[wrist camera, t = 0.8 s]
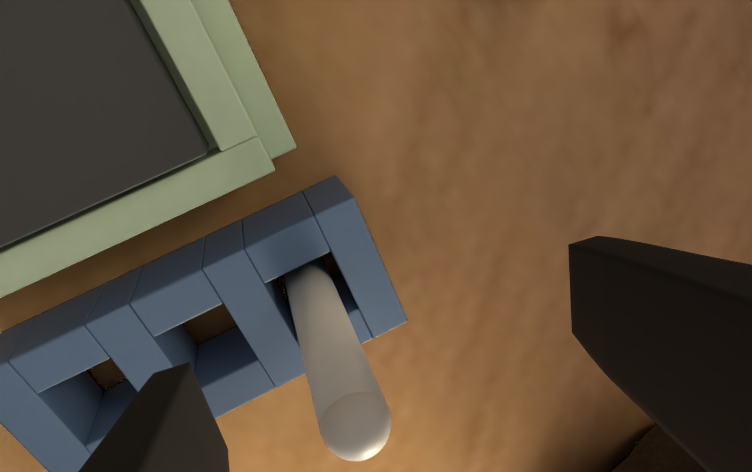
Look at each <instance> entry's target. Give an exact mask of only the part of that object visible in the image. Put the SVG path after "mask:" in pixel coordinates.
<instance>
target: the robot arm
mask: <svg viewBox="0 0 752 472" xmlns="http://www.w3.org/2000/svg"><path fill="white" fill-rule="evenodd" d="M568 247H569V271H570V295H571V318H572V333H573V334H574V335H575V337H576V338H577V339H578V341H579V342H580V343H581V345H582V346H583V347H584V348H585V350H586V351H587V352H588V354H589V355H590V356H591V357H592V359H593V360H594V361H595V362H596V363H597V365H598V366H599V367H600V368H601V369H602V371H603V372H604V373H605V374H606V375H607V376H608V377H609V378H610V379H611V380H612V381H613V382H614V383H615V384H616V385H617V386H618V387H619V388H620V389H621V390H622V391H623V392H624V393H625V394H626V395H627V396H628V397H629V398H631V399H632V400H633V401H634V402H635V403H636V404H637V405H638V406H639V407H640V408H641V409H642V410H643V411H644V412H645V413H646V414H647V415H648V416H649V417H650V418H651V419H653V420H654V421H655V422H656V423H657V424H658V425H659V426H660V427H661V428H662V429H663V430H664V431H665V432H666V433H667V434H668V435H669V436H670V437H671V438H673V439H674V440H675V441H676V442H677V443H678V444H679V445H680V446H681V447H682V448H683V449H684V450H685V451H686V452H687V453H688V454H689V455H690V456H691V457H693V458H694V459H695V460H696V461H697V462H698V463H699V464H700V465H701V466H702V467H703V468H704V469H705V470H706V471H707V472H752V265H750V264H745V263H739V262H734V261H729V260H724V259H719V258H714V257H709V256H704V255H699V254H694V253H689V252H685V251H680V250H675V249H670V248H665V247H660V246H656V245H651V244H646V243H641V242H635V241H630V240H624V239H618V238H611V237H603V236H595V237H592V238H589V239H585V240H582V241H579V242H576V243H573V244H569V245H568ZM78 472H229V460H228V448H227V446H226V444H225V442H224V439H223V437H222V435H221V432H220V430H219V428H218V426H217V423H216V421H215V419H214V417H213V414H212V412H211V410H210V407H209V405H208V403H207V401H206V398H205V396H204V394H203V391H202V389H201V387H200V385H199V382H198V380H197V378H196V375H195V373H194V371H193V369H192V366H191V364H190V362H188V363H185V364H181V365H178V366H175V367H172V368H168V369H165V370H162V371H159V372H155V373H153V374H152V375H151V377H150V378H149V379H148V380H147V381H146V383H145V384H144V385H143V387H142V388H141V389H140V390H139V392H138V393H137V394H136V396H135V397H134V398H133V400H132V401H131V402H130V404H129V405H128V406H127V408H126V409H125V411H124V412H123V413H122V415H121V416H120V417H119V419H118V420H117V421H116V423H115V424H114V425H113V427H112V428H111V429H110V431H109V432H108V433H107V435H106V436H105V437H104V439H103V440H102V441H101V442H100V444H99V445H98V446H97V448H96V449H95V450H94V452H93V453H92V454H91V456H90V457H89V458H88V460H87V461H86V462H85V464H84V465H83V466H82V468H81V469H80V470H79V471H78Z"/></svg>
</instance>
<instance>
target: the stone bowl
mask: <svg viewBox="0 0 752 472" xmlns="http://www.w3.org/2000/svg"><path fill="white" fill-rule="evenodd" d="M635 445H637V446H635V448H634V449H633V451H632V452H631V454H630V456H629V457H628V458H627V459H626V460H624V461H623V462H622V463H621V464H620V465H618V466H617V467H616V468H615V469H614V470H613V471H612V472H707V471H706V470H705V469H704V468H703V467H702V466H701V465H700V464H699V463H698V462H697V461H696V460H695V459H694V458H693V457H691V456H690V455H689V454H688V453H687V452H686V451H685V450H684V449H683V448H682V447H681V446H680V445H679V444H678V443H677V442H676V441H675V440H674V439H673V438H671V437H670V436H669V435H668V434H667V433H666V432H665V431H664V430H663V429H662V428H661V427H660V426H659V425H656V426H654V427H653V428H652V429H651V430H650V431H649V432H648V433H646V434H645V435H644V437H643V438H642V440H640V441H637V442H636V443H635Z"/></svg>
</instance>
